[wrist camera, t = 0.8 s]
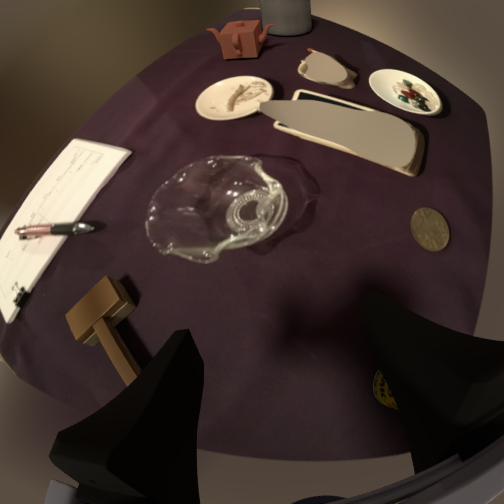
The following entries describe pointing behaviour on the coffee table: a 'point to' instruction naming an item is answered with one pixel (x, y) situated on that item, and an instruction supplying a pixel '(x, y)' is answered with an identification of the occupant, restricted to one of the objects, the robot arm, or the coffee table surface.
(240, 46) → the teapot
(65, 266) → the coffee table surface
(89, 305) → the brown t-shaped piece
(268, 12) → the planter
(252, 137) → the coffee table surface
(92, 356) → the coffee table surface
